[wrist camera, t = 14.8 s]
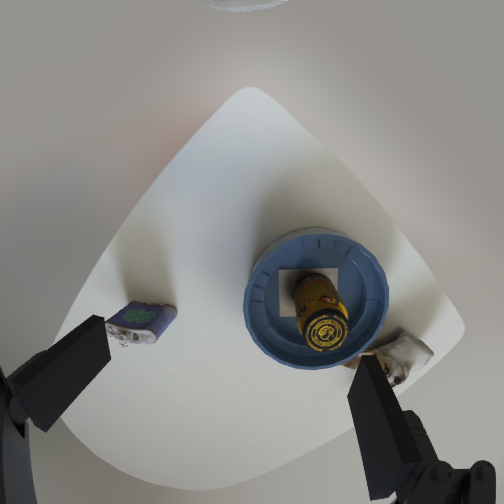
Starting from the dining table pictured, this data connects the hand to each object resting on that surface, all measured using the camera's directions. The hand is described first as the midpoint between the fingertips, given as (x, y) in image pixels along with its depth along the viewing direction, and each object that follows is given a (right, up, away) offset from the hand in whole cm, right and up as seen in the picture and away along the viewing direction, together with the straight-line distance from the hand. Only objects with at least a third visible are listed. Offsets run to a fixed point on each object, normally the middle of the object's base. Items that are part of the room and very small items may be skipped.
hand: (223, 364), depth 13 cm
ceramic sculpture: (+23, -12, +29) cm, 39 cm away
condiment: (+9, 0, +27) cm, 29 cm away
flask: (-15, -4, +31) cm, 35 cm away
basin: (+10, -1, +28) cm, 29 cm away
